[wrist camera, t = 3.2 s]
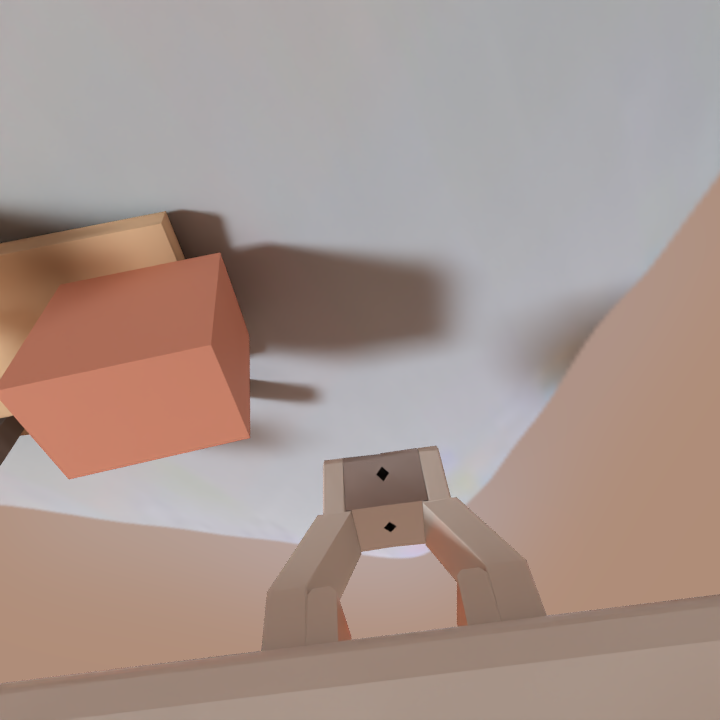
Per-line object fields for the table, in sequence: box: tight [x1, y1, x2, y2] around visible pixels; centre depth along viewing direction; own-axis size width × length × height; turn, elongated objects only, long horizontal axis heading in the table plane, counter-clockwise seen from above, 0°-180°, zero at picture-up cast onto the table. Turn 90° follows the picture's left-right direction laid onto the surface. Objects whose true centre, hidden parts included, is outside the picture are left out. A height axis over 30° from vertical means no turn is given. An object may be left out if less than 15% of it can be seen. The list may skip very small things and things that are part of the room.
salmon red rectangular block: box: [0, 253, 250, 479], centre depth 17 cm, size 6×4×6 cm, turn 97°
